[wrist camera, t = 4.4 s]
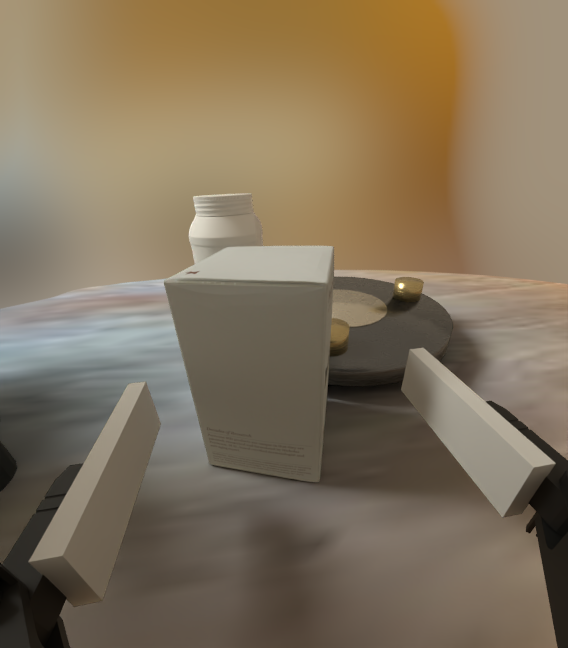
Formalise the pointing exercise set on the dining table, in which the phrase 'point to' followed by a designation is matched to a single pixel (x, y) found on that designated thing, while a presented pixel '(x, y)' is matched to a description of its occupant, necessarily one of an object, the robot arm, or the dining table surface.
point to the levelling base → (382, 329)
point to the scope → (6, 467)
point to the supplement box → (258, 354)
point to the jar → (223, 224)
